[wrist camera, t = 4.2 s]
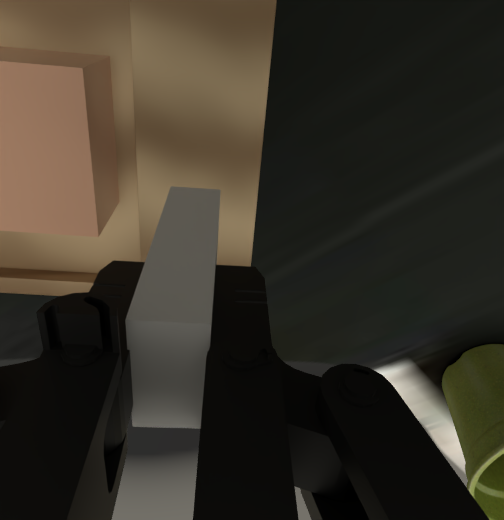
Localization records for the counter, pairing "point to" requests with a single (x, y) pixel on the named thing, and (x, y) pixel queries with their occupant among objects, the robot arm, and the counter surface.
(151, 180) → the oak riser
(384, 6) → the counter surface
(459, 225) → the counter surface
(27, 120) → the salmon pink box
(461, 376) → the plant pot
